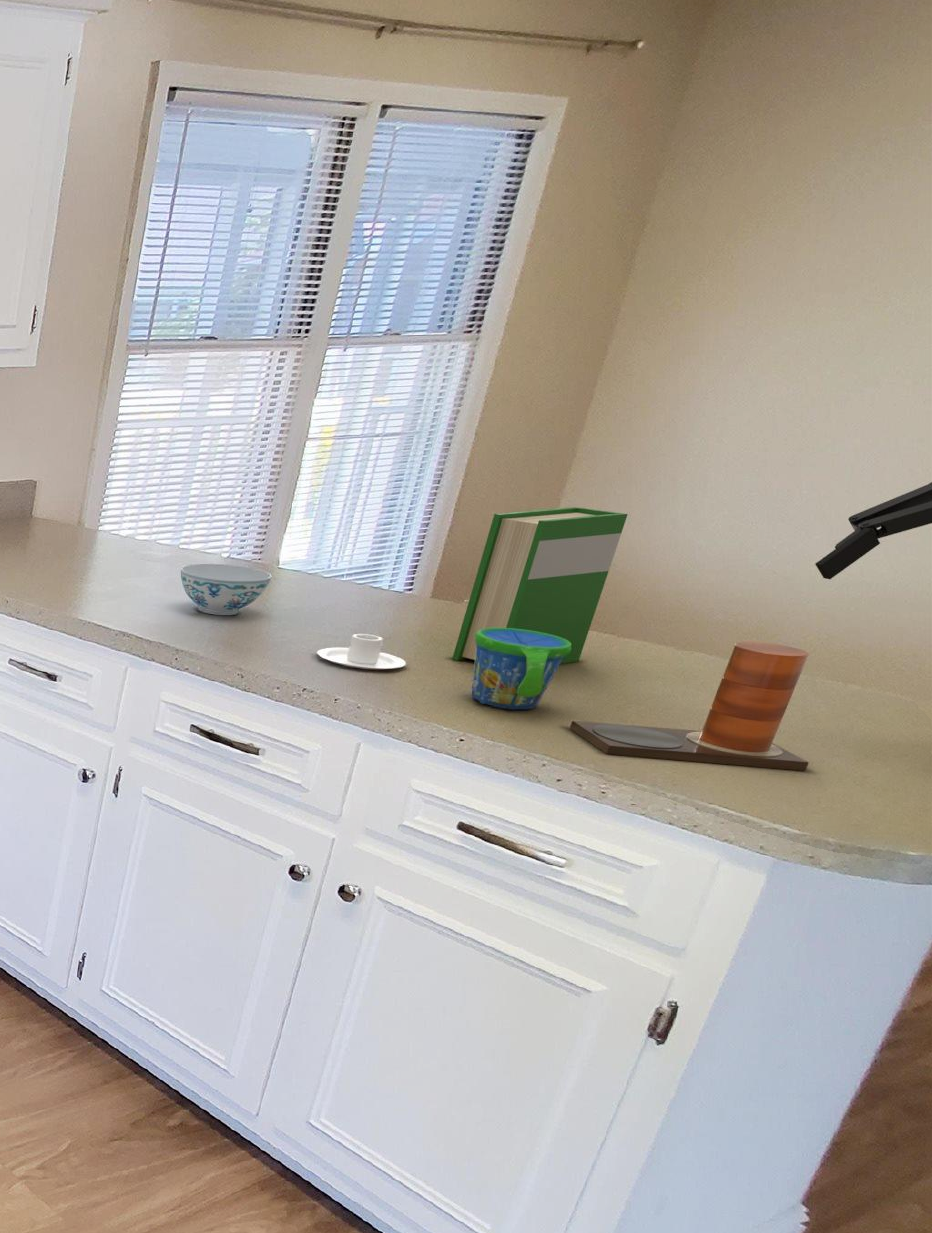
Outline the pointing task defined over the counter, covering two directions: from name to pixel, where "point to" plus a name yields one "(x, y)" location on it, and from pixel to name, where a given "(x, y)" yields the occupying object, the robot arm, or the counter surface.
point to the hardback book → (542, 575)
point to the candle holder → (362, 654)
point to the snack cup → (515, 666)
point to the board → (678, 746)
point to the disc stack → (753, 696)
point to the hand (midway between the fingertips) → (882, 583)
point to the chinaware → (223, 586)
